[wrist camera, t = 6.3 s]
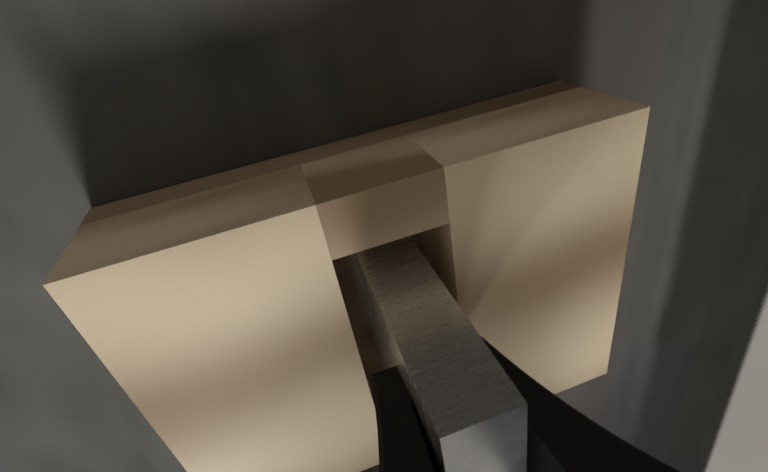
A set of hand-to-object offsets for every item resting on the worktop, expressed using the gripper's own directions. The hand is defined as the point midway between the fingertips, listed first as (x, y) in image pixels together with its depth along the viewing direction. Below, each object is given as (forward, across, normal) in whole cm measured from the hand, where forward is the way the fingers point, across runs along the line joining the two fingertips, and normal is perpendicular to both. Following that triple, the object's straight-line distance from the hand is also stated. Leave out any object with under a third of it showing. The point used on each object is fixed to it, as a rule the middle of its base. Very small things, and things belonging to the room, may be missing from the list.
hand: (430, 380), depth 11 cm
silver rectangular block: (+4, 0, 0) cm, 4 cm away
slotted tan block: (+5, 0, 0) cm, 5 cm away
